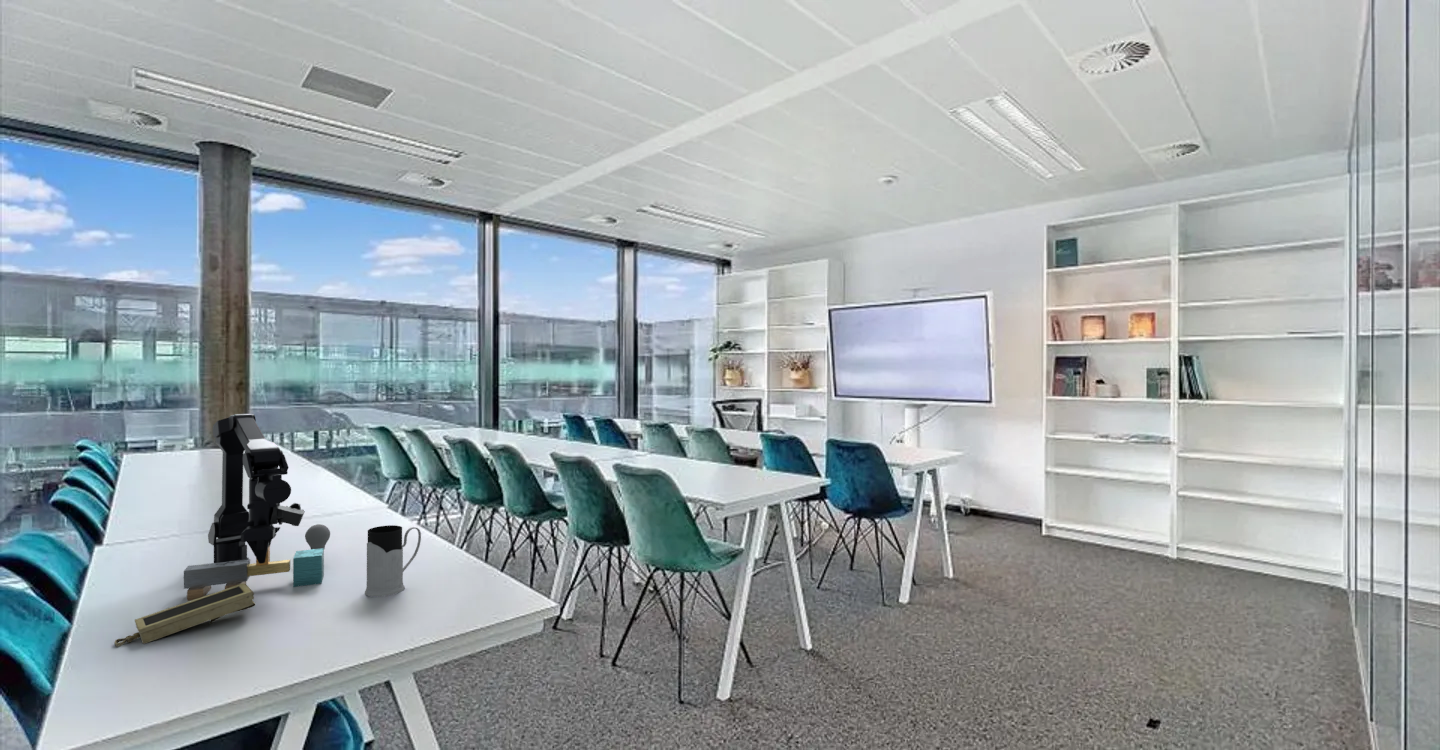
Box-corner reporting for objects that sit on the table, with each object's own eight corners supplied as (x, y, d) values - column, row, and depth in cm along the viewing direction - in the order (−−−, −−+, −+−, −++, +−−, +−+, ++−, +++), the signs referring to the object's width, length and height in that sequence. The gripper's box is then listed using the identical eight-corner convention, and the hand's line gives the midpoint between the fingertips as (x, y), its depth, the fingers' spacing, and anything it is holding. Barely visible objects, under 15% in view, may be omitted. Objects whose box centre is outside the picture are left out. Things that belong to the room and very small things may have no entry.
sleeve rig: (181, 601, 149) (181, 571, 149) (190, 590, 156) (190, 561, 156) (321, 584, 162) (321, 555, 162) (323, 574, 169) (323, 547, 169)
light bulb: (310, 564, 177) (310, 528, 177) (301, 560, 181) (301, 524, 181) (333, 559, 182) (334, 524, 182) (324, 555, 186) (324, 520, 186)
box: (259, 611, 140) (254, 589, 140) (120, 663, 124) (114, 638, 123) (249, 602, 146) (245, 581, 145) (115, 650, 130) (109, 627, 129)
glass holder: (356, 592, 156) (356, 530, 156) (408, 576, 169) (409, 518, 169) (379, 599, 152) (379, 535, 152) (431, 581, 165) (431, 522, 165)
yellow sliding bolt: (192, 583, 152) (192, 556, 152) (195, 579, 155) (195, 552, 155) (288, 572, 161) (289, 546, 161) (290, 568, 164) (290, 543, 163)
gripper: (297, 502, 155) (297, 567, 155) (305, 488, 171) (305, 547, 172) (240, 506, 150) (240, 573, 150) (254, 492, 166) (254, 552, 166)
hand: (263, 561), depth 160 cm, fingers closed on yellow sliding bolt, 3 cm apart
